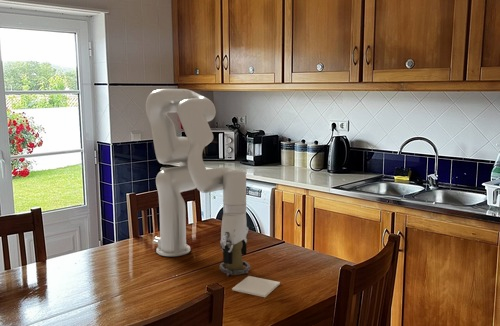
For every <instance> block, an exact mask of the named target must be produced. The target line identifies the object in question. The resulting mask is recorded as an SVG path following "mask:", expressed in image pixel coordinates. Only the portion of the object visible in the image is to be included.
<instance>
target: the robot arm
mask: <svg viewBox="0 0 500 326" xmlns="http://www.w3.org/2000/svg"><path fill="white" fill-rule="evenodd" d="M145 101H146V102H145V112H146V113H145V114H146V116H147V119H148V122H149V125H150V130H151V133H152V135H151V136H152V140H153V147H154V148H153V149H154V153H155V157H156V160H157V162H158V163H159V164H162V165H171V164H178V163H179V166H173V167H167V168H163V169H162V170H160V171H159V172H158V173H157V175H156V177H155V185H156V189H157V195H158V204H159V205H158V206H159V235H160V236H155V237H154V239H153V241H152V244H155V245H157V247H156V249H155V251H156V253H157V254H158V255H159V256H163V257H180V256H184V255H187V254H189V253H190V252H191V246H190V245H188V244H187V226H186V225H187V222H186V221H187V219H186V217H187V216H186V214H187V213H186V203H185V200H184V198H183V196H182V194H181V193H183V192H187V191H193V190H195V189H197V190H198V191H199V192H200V193H204V194H208V193H213V192H217V191H222V202H223V204H222V205H223V208H222V209H223V211H222V213H223V214H222V220H221V230H220V242H219V243H220V248H221V251H222V263H227V264H232V263H233V253H232V252H231V251H232V248H233V245H235V244H237V243H239V242H240V241H242V243H243V246H242V249H241V254H242V255H243V256H246V255H247V254H248V253H247V242H248V237H249V236H248V234H249V227H248V226H247V225H248V223H247V221H248V220H247V215H246V214H247V174H246V172H245V171H243V170H238V169H237V170H235V169H231V168H229V167H225V166H220V167H214V168H208V169H207V168H206V166H205V162H204V160H203V152H204V150H205V148H206V147H207V146H208V145H209V144H210V143H212V142H213V140H214V134H213V132H212V129H211V127H210V125H209V122H211V121H213V120H214V118H215V117H216V115H217V114H216V112H217V111H216V107H215V104H214V103H213V101H212V100H210V99H209V98H208V97H206V96H204V95H201V94H200V93H197V92H196V91H193V90H190V89H188V88H187V89H186V88H161V89H160V88H159V89H156V90H153V91H152V92H150V93H149V94H148V96H147V98H146V100H145ZM170 113H177V116H178V118H179V120H180V124H181V126H182V128H183V131H184V133H185V135H186V136H177V132H176V126H175V123H174V121H173V120H172V118H171V117H170V116H169V115H168V114H170ZM228 241H229V242H228ZM227 245H230V246H229V248H228V246H227Z"/></svg>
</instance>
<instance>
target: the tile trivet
mask: <svg viewBox="0 0 500 326" xmlns="http://www.w3.org/2000/svg"><path fill="white" fill-rule="evenodd" d="M280 285H281V281H276V280H272V279H267V278H262V277H256V276H251V275H248V276H247V277H245V278H244V279H242V280H241V281H240V282H238V283H237V284H235V286H233V287H232V288H231V291H233V292H234V291H235V292H239V293H242V294H249V295H253V296H257V297H262V298H266V297H267V296H268V295H270V293H272V291H274V290H275V289H277V287H279V286H280Z"/></svg>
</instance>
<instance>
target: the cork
mask: <svg viewBox="0 0 500 326" xmlns="http://www.w3.org/2000/svg"><path fill="white" fill-rule="evenodd" d="M228 242H229V241H228ZM227 246H228V248H229V246H230V245H227ZM242 246H243V243H242V241H240V242H239V243H237V244H235V245H233V248H232V251H231V252H232V253H233V263H232V264H227V265H226V266H225V269H231V270H238V269H244V265H243V261H244V260H243V256H242V254H241V249H242ZM238 275H240V274H234V275H233V274H230V276H238Z"/></svg>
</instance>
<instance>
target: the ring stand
mask: <svg viewBox="0 0 500 326" xmlns="http://www.w3.org/2000/svg"><path fill="white" fill-rule="evenodd" d="M242 261H243V269H238V270H231V269H226V266H227V263H223V262H221V263H220V264H219V270H220V271H221V273H224V274H226V277H227V278H228V277H230V276H231V275H230V274H233V275H232V276H235V275H234V274H239V275H242V274H245V275H249V271H250V270H251V265H250V263H249V262H248V261H245V260H242Z"/></svg>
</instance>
